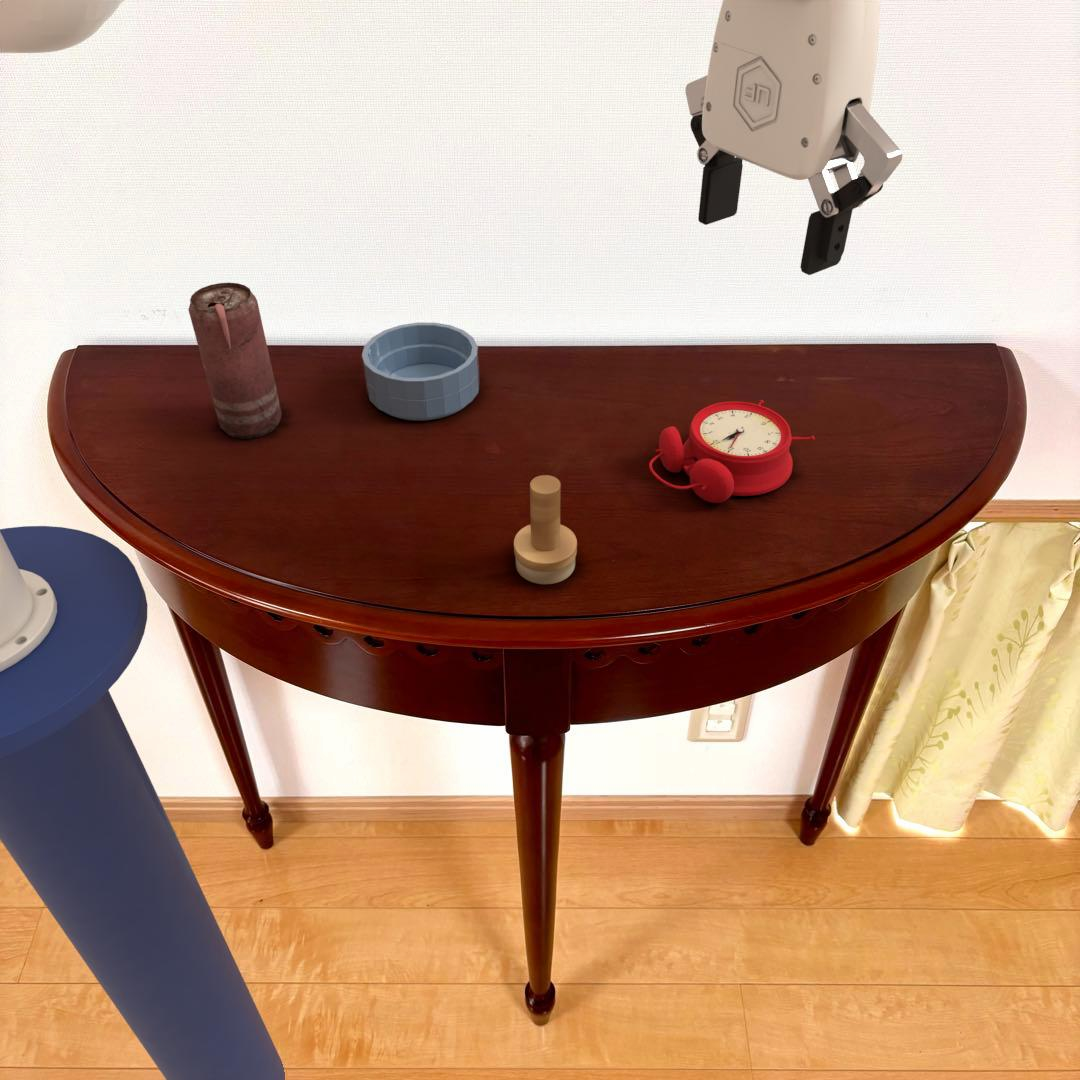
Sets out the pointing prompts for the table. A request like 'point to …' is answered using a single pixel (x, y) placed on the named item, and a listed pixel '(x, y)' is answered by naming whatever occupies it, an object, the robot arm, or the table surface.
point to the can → (235, 359)
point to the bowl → (421, 370)
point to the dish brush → (545, 537)
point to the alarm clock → (730, 451)
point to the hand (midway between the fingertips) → (766, 242)
